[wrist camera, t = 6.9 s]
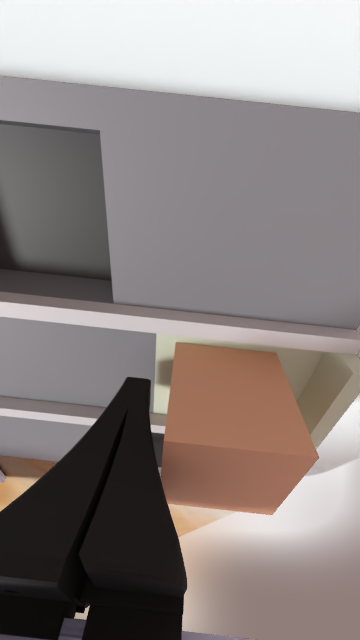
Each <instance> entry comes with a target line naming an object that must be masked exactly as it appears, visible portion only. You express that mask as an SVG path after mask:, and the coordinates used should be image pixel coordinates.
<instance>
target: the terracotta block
mask: <svg viewBox="0 0 360 640" xmlns="http://www.w3.org/2000/svg"><path fill="white" fill-rule="evenodd" d="M318 458H319V456H318V454H317V451H316V449H315V446H314V444H313V442H312V439H311V437H310V434H309V432H308V429H307V427H306V424H305V422H304V419H303V417H302V415H301V412H300V410H299V407H298V405H297V402H296V400H295V397H294V395H293V392H292V390H291V388H290V385H289V383H288V380H287V378H286V375H285V373H284V370H283V368H282V366H281V363H280V361H279V358H278V356H277V353H272V352H263V351H253V350H244V349H234V348H225V347H215V346H206V345H197V344H187V343H178V342H176V344H175V352H174V361H173V369H172V377H171V385H170V394H169V402H168V410H167V418H166V426H165V435H164V444H163V455H162V467H161V482H162V486H163V489H164V493H165V497H166V500H167V504H175V505H184V506H193V507H202V508H211V509H220V510H230V511H239V512H249V513H258V514H266V515H272V514H273V513H274V512H275V511H276V510H277V508H278V507H279V506H280V505H281V504H282V502H283V501H284V500H285V499H286V497H287V496H288V495H289V494H290V493H291V491H292V490H293V489H294V488H295V486H296V485H297V484H298V483H299V481H300V480H301V479H302V478H303V477H304V475H305V474H306V473H307V472H308V470H309V469H310V468H311V467H312V466H313V464H314V463H315V462H316V461H317V459H318Z"/></svg>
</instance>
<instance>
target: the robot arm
mask: <svg viewBox="0 0 360 640" xmlns="http://www.w3.org/2000/svg"><path fill="white" fill-rule="evenodd" d="M150 399H151V380H149V379H145V378H136V377H127V378H126V379H125V381H124V383H123V384H122V386H121V388H120V389H119V391H118V392H117V394H116V395H115V397H114V398H113V399H112V401H111V402H110V404H109V405H108V406H107V408H106V409H105V410H104V412H103V413H102V414H101V416H100V417H99V418H98V419H97V420H96V422H95V423H94V424H93V425H92V426H91V428H90V429H89V430H88V431H87V432H86V433H85V435H84V436H83V437H82V438H81V439H80V440H79V441H78V442H77V443H76V444H75V446H74V447H73V448H72V449H71V450H70V451H69V452H68V453H67V454H66V455H65V456H64V457H63V458H62V459H61V460H60V461H59V462H58V463H57V464H56V465H54V466H53V467H52V468H51V469H50V470H49V471H48V472H47V473H46V474H45V475H44V476H42V477H41V478H40V479H39V480H38V481H37V482H36V483H34V484H33V485H32V486H31V487H30V488H29V489H28V490H27V491H25V492H24V493H23V494H22V495H21V496H19V497H18V498H17V499H16V500H14V501H13V502H12V503H11V504H9V505H8V506H7V507H6V508H4V509H3V510H2V511H1V512H0V640H255V639H247V638H238V637H229V636H220V635H212V634H202V633H195V632H185V631H182V615H183V605H184V604H183V603H184V593H185V592H186V590H187V578H186V571H185V567H184V562H183V557H182V553H181V548H180V543H179V539H178V536H177V533H176V530H175V527H174V523H173V520H172V517H171V514H170V511H169V507H168V504H167V500H166V497H165V493H164V489H163V486H162V482H161V478H160V474H159V470H158V465H157V461H156V456H155V451H154V445H153V439H152V432H151V425H150V414H149V410H150ZM5 479H6V477H5V476H4V474H3V473H2V471H1V470H0V482H4V481H5ZM89 605H90V608H89V611H88V616H87V620H82V619H74V617H75V613H76V612H78V613H84V611H85V608H87V607H88V606H89Z"/></svg>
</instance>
